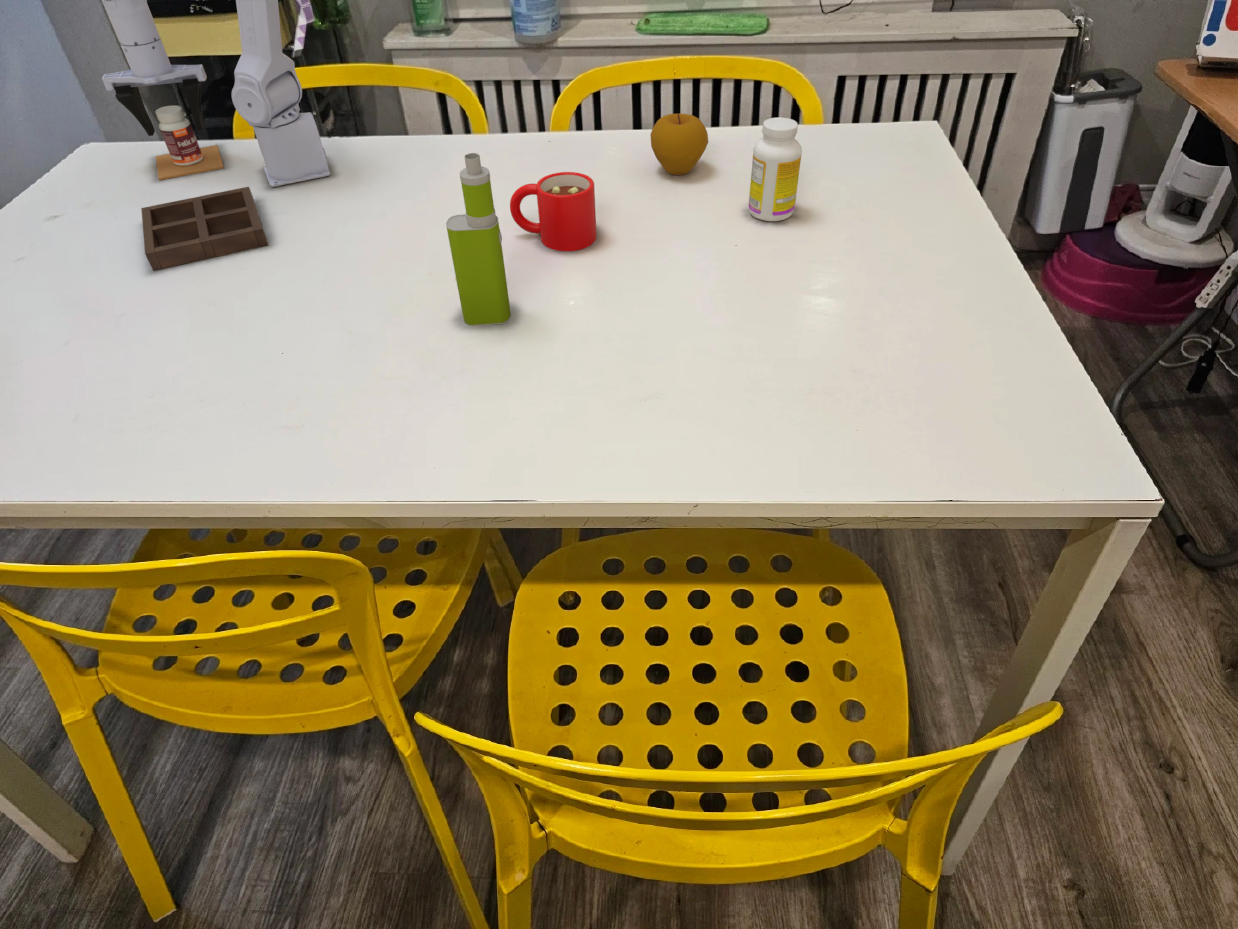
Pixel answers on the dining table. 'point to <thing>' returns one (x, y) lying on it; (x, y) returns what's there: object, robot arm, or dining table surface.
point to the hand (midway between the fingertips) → (176, 130)
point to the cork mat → (172, 170)
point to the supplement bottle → (775, 171)
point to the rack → (201, 228)
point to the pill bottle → (178, 136)
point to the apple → (678, 142)
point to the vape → (478, 250)
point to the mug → (560, 210)
